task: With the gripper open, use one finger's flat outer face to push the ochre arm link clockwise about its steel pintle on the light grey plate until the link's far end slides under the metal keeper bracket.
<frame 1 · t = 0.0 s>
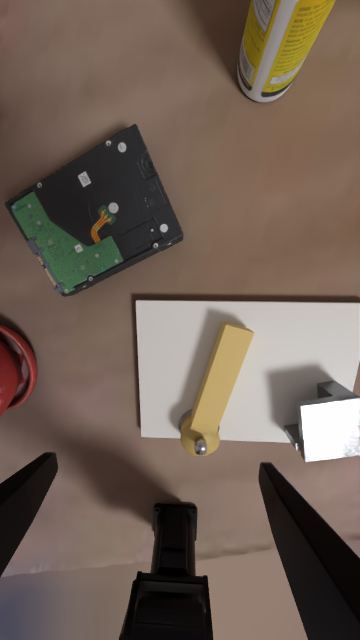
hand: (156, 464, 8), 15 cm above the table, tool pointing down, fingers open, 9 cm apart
supplement bottle: (264, 71, 17), on the table
link: (214, 392, 21), point 2 cm above the table, hinge at 0.0°
pintle: (199, 437, 22), on the base plate, point 3 cm above the table
keeper: (315, 416, 21), resting on base plate
base plate: (242, 373, 23), on the table
disk drive: (106, 227, 20), on the table
plant pot: (0, 359, 24), on the table
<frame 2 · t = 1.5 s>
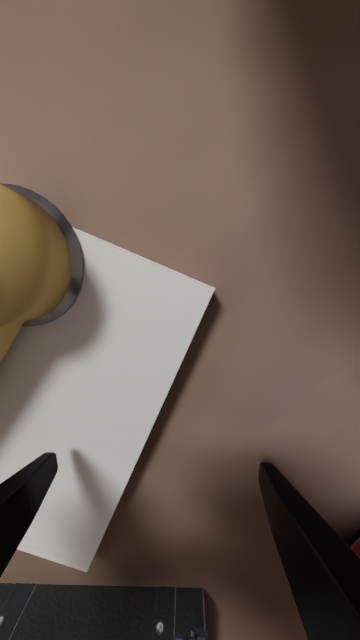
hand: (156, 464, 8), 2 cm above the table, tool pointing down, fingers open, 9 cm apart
disk drive: (111, 614, 14), on the table
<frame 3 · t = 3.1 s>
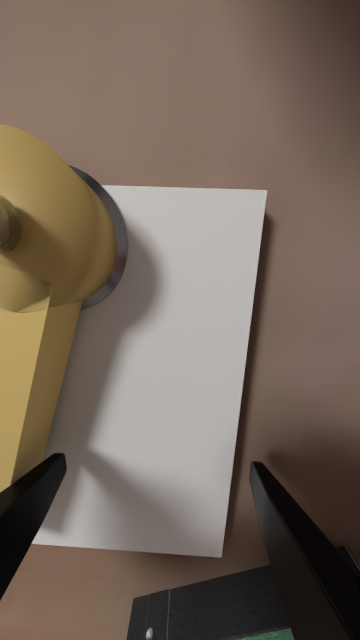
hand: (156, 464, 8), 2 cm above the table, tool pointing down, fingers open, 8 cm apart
link: (5, 391, 7), point 2 cm above the table, hinge at -2.9°, touching gripper
pintle: (19, 231, 5), on the base plate, point 3 cm above the table
disk drive: (254, 604, 13), on the table
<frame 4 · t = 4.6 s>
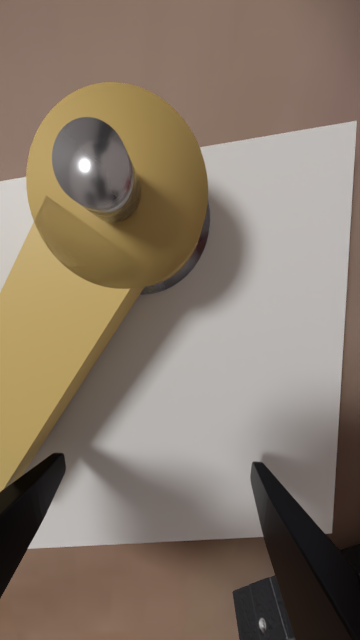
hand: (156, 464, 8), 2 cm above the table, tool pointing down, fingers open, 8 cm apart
link: (43, 357, 7), point 2 cm above the table, hinge at -27.4°, touching gripper
pintle: (121, 203, 5), on the base plate, point 3 cm above the table
base plate: (66, 391, 9), on the table
disk drive: (357, 583, 13), on the table
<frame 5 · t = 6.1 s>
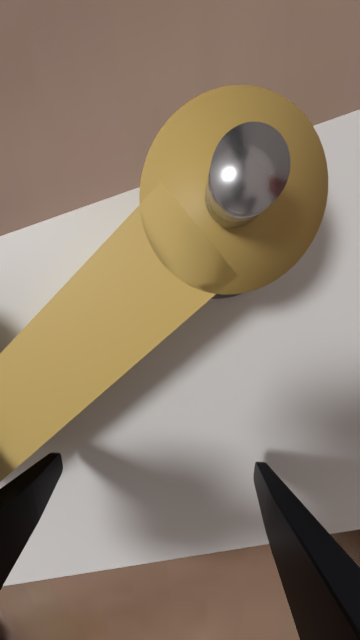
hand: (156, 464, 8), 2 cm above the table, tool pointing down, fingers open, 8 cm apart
link: (92, 339, 6), point 2 cm above the table, hinge at -49.2°, touching gripper
pintle: (228, 207, 5), on the base plate, point 3 cm above the table
base plate: (146, 405, 9), on the table
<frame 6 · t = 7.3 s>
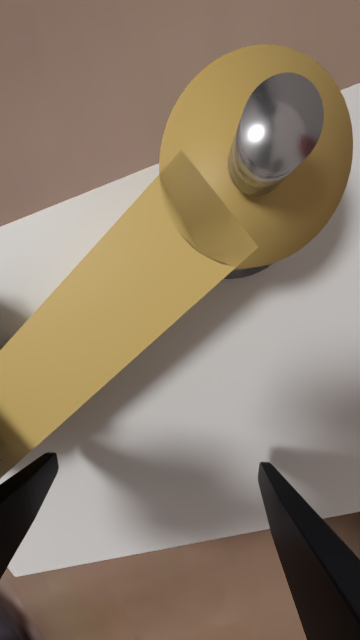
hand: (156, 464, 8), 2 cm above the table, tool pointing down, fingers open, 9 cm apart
link: (107, 319, 6), point 2 cm above the table, hinge at -50.3°
pintle: (248, 177, 5), on the base plate, point 3 cm above the table
base plate: (161, 392, 9), on the table
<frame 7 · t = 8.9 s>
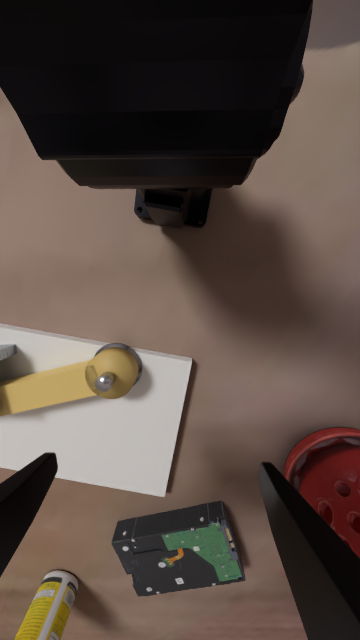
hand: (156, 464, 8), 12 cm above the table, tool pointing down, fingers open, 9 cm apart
supplement bottle: (63, 578, 28), on the table
link: (58, 384, 18), point 2 cm above the table, hinge at -50.4°
pintle: (110, 374, 17), on the base plate, point 3 cm above the table
base plate: (70, 409, 21), on the table
disk drive: (179, 532, 26), on the table
plant pot: (328, 461, 22), on the table
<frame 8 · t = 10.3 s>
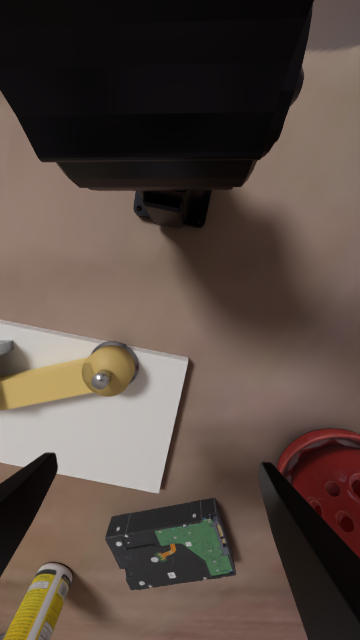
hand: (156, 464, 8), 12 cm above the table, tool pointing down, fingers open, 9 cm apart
supplement bottle: (57, 571, 28), on the table
link: (55, 381, 18), point 2 cm above the table, hinge at -50.4°
pintle: (107, 372, 17), on the base plate, point 3 cm above the table
base plate: (67, 405, 21), on the table
mini dv tape: (7, 633, 32), on the table
disk drive: (172, 527, 26), on the table
plant pot: (320, 461, 22), on the table
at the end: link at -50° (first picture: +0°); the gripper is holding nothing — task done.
